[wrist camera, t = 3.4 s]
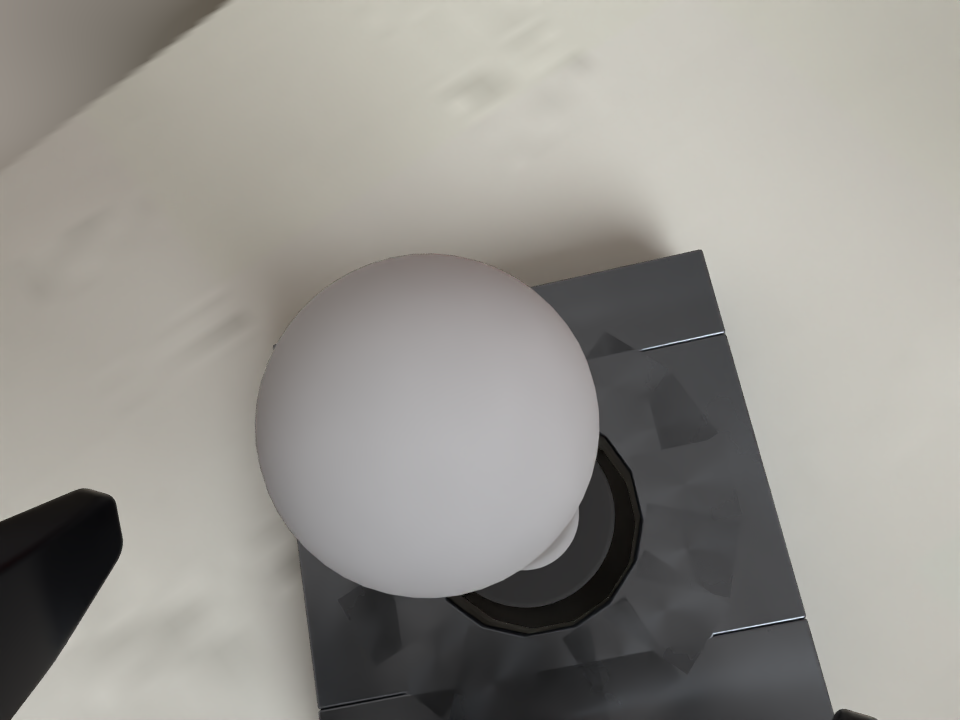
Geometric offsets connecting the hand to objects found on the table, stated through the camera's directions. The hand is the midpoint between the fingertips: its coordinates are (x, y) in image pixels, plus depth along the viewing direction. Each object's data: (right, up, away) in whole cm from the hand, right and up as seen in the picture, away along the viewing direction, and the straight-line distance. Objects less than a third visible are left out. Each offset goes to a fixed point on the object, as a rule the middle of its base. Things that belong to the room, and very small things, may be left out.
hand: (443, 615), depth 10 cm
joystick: (+2, -1, +9) cm, 10 cm away
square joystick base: (+2, -1, +9) cm, 10 cm away
